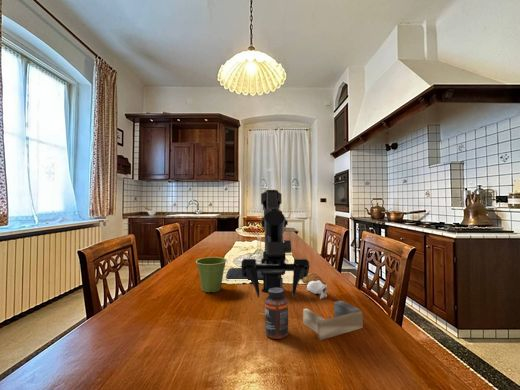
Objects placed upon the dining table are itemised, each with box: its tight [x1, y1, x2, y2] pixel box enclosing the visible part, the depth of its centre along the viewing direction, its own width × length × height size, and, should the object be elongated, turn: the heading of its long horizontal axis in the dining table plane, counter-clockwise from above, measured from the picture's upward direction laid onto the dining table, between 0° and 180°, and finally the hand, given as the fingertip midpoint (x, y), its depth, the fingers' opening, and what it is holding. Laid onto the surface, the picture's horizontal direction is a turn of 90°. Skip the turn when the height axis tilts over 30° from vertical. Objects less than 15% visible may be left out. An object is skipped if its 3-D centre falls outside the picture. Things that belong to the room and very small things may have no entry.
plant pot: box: [195, 256, 228, 293], centre depth 104 cm, size 12×12×11 cm
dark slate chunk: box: [225, 267, 263, 280], centre depth 122 cm, size 15×22×5 cm
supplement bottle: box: [264, 288, 289, 340], centre depth 69 cm, size 6×6×11 cm
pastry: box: [301, 271, 324, 285], centre depth 112 cm, size 9×7×4 cm
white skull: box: [305, 280, 328, 300], centre depth 98 cm, size 5×7×10 cm
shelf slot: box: [302, 300, 364, 341], centre depth 73 cm, size 9×14×4 cm, turn 116°
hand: (276, 296), depth 71 cm, fingers open, 9 cm apart
